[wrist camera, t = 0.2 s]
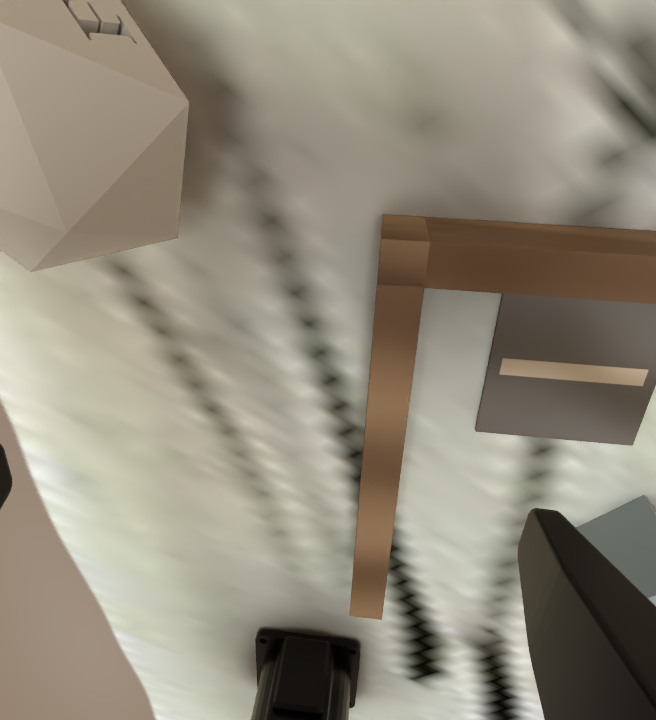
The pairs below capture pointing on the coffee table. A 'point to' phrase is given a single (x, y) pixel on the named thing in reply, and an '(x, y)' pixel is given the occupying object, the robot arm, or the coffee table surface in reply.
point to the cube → (628, 542)
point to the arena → (507, 347)
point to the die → (85, 134)
